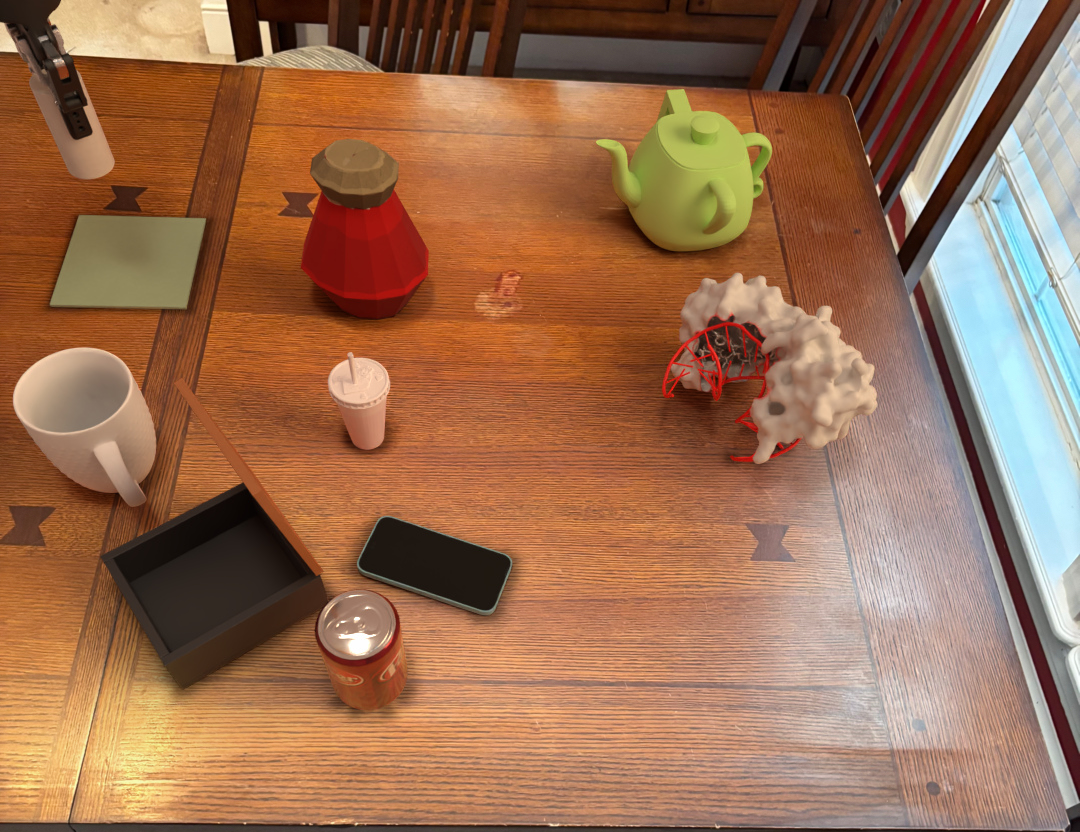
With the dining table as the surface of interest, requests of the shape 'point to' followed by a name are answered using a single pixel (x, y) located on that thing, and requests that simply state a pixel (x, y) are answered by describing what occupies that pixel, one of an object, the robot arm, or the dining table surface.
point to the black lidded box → (214, 584)
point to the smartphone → (435, 565)
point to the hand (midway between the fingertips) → (71, 121)
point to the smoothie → (361, 399)
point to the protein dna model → (772, 363)
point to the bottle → (362, 233)
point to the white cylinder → (79, 155)
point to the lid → (247, 476)
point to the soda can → (362, 648)
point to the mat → (129, 262)
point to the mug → (89, 420)
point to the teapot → (689, 177)
